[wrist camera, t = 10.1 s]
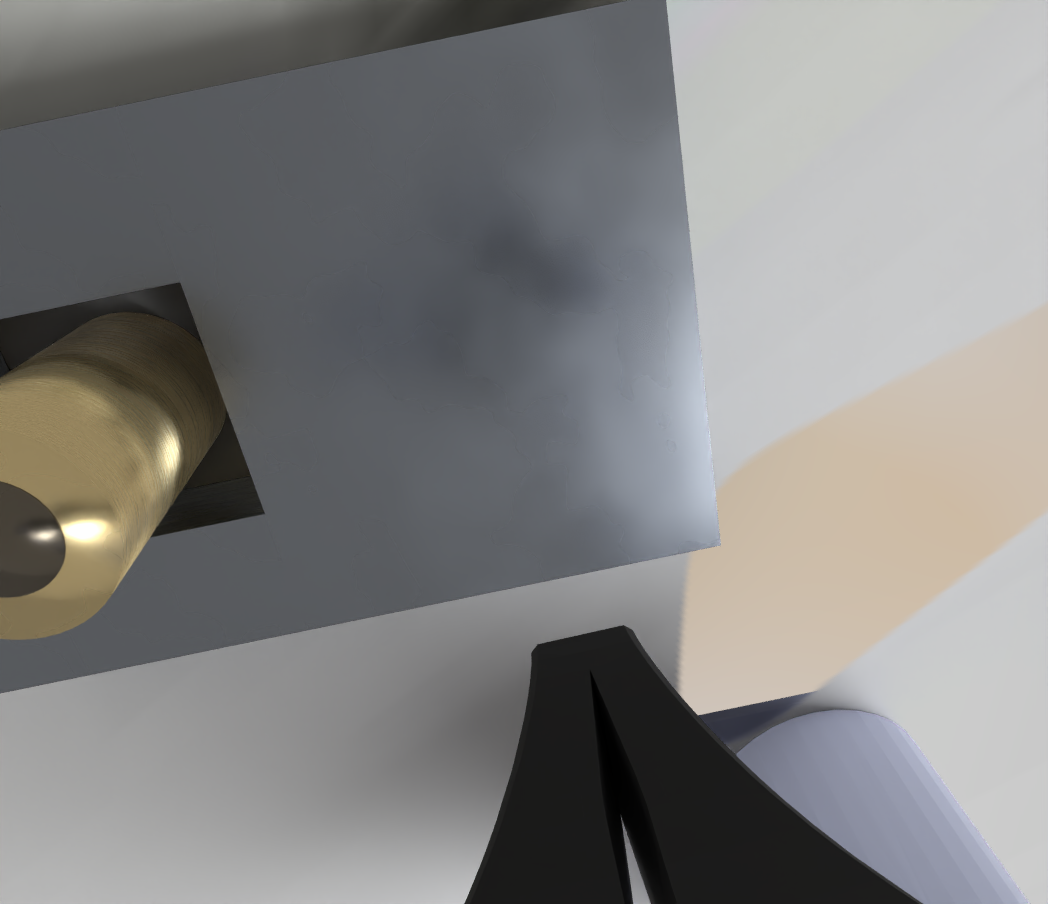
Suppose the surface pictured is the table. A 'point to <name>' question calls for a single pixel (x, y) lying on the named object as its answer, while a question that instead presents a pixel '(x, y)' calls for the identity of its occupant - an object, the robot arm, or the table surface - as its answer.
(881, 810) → the robot arm
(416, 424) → the plate
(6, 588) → the brass bushing
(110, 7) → the table surface
